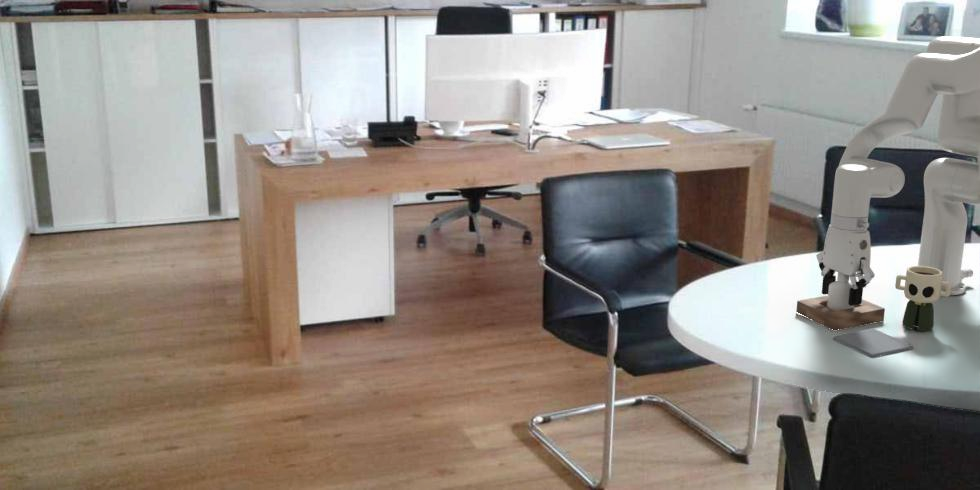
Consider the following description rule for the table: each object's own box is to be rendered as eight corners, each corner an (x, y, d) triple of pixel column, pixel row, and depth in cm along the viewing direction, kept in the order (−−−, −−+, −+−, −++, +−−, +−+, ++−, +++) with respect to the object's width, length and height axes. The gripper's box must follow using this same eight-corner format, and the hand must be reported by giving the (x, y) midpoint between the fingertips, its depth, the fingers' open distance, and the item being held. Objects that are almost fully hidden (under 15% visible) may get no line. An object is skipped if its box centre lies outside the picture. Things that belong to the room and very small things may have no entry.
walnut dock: (844, 304, 233) (845, 292, 232) (883, 321, 222) (884, 308, 222) (796, 313, 227) (797, 300, 227) (834, 330, 217) (835, 317, 216)
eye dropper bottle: (828, 312, 228) (833, 261, 225) (854, 316, 225) (859, 265, 222) (824, 318, 224) (829, 266, 221) (850, 322, 222) (856, 270, 218)
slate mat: (872, 331, 217) (873, 328, 217) (912, 348, 207) (913, 345, 207) (833, 338, 212) (833, 336, 212) (872, 357, 203) (872, 354, 203)
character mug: (887, 328, 218) (894, 270, 215) (893, 318, 224) (900, 262, 221) (942, 337, 213) (950, 279, 209) (946, 327, 219) (954, 270, 215)
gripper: (892, 229, 213) (883, 308, 218) (833, 211, 228) (826, 285, 233) (865, 233, 210) (856, 313, 215) (807, 214, 225) (800, 289, 230)
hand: (841, 298), depth 224 cm, fingers open, 7 cm apart
